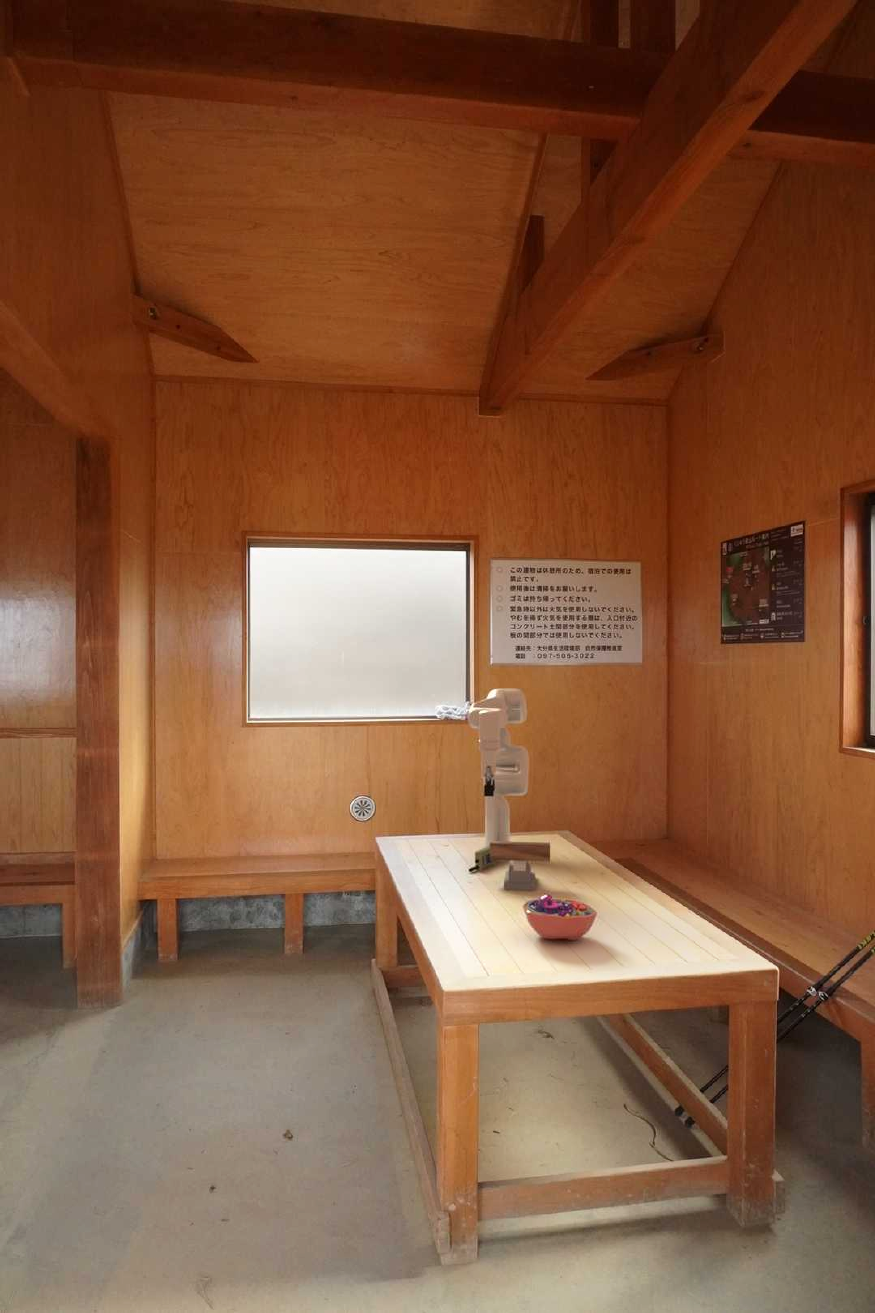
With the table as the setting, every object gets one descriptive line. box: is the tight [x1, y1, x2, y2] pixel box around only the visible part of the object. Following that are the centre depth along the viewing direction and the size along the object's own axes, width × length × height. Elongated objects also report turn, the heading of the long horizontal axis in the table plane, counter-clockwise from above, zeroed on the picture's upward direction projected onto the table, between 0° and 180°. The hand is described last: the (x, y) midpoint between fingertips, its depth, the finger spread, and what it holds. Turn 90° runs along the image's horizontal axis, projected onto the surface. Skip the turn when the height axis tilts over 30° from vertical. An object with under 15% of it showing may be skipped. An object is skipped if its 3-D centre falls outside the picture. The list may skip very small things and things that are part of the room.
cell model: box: [522, 893, 598, 941], centre depth 222 cm, size 17×20×11 cm
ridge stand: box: [503, 860, 536, 892], centre depth 276 cm, size 16×10×8 cm, turn 173°
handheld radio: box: [468, 846, 502, 873], centre depth 300 cm, size 7×3×25 cm
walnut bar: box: [490, 841, 551, 863], centre depth 276 cm, size 4×20×6 cm, turn 83°
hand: (489, 793), depth 292 cm, fingers open, 9 cm apart
